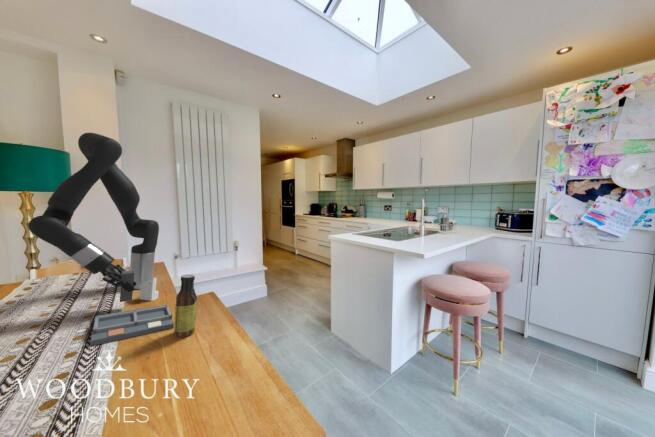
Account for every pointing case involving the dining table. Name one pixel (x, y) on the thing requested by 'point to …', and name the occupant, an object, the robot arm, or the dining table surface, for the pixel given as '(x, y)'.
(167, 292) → the dining table surface
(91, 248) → the robot arm
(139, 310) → the grey tray
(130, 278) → the plug
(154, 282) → the white wedge bracket
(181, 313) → the sauce bottle
